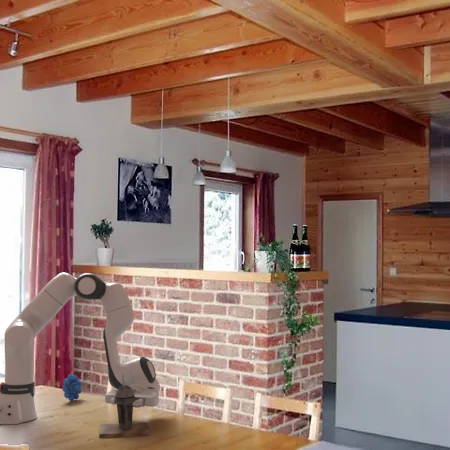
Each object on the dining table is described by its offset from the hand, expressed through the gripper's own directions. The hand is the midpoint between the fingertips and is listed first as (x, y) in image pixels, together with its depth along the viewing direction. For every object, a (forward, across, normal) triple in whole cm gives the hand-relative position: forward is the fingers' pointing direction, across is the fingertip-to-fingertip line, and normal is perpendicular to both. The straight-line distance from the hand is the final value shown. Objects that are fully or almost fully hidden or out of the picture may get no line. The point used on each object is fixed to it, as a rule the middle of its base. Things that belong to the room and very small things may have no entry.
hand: (123, 403), depth 250 cm
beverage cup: (-1, +1, +10) cm, 10 cm away
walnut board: (-1, 0, +11) cm, 11 cm away
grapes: (-40, -41, +11) cm, 59 cm away
